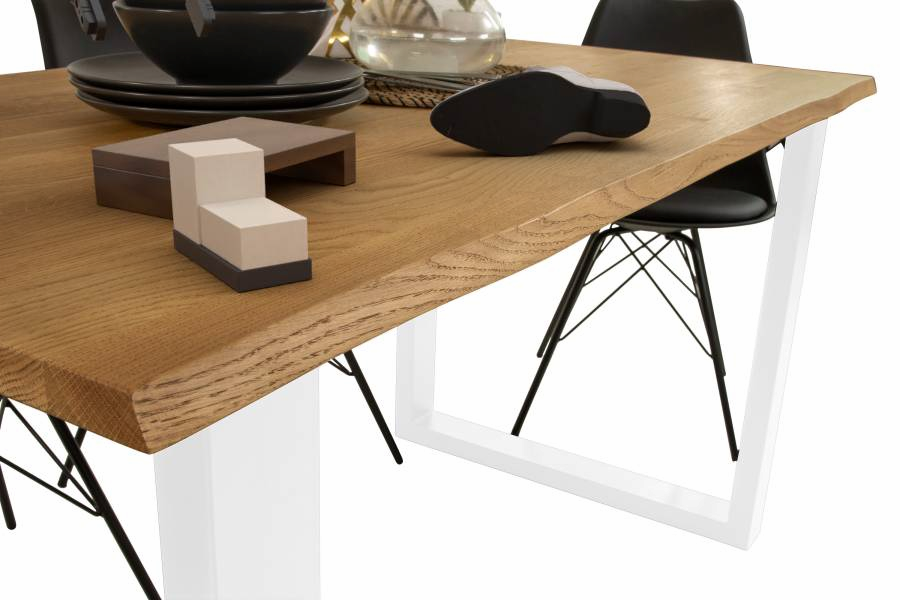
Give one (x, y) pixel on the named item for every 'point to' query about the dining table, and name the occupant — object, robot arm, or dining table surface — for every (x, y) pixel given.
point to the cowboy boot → (540, 112)
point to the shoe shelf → (284, 144)
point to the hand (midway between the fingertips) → (155, 32)
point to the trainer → (234, 216)
